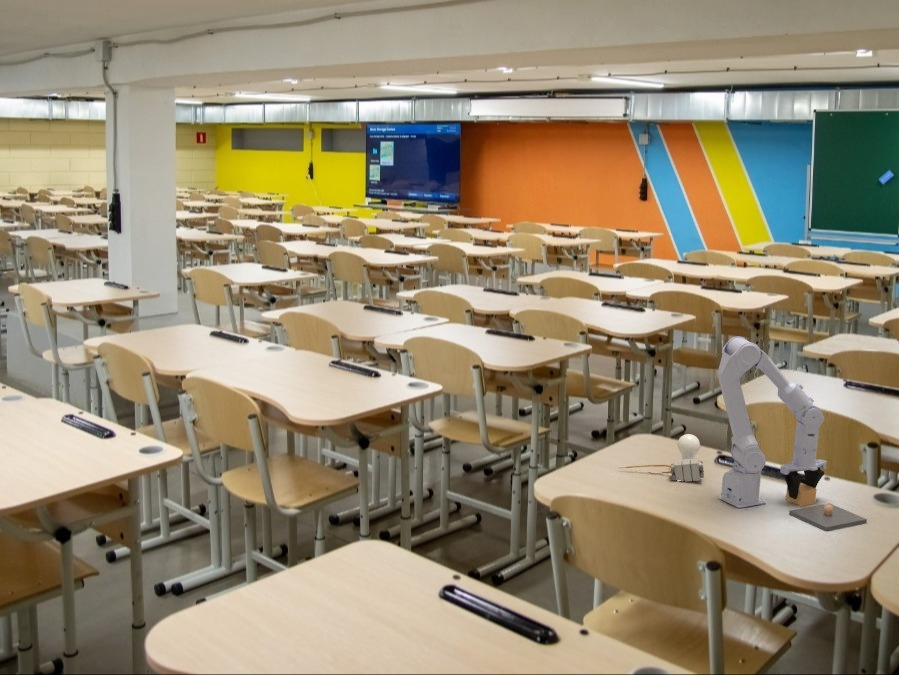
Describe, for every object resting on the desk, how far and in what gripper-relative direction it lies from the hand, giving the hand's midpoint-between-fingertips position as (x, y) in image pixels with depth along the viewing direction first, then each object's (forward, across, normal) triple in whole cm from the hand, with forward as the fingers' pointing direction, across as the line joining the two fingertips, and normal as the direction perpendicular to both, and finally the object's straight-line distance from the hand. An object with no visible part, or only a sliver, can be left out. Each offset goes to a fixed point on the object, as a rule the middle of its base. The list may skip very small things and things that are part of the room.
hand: (800, 496), depth 248 cm
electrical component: (+2, -23, +30) cm, 38 cm away
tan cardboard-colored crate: (+1, 0, 0) cm, 1 cm away
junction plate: (+1, -3, -12) cm, 12 cm away
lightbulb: (+2, -12, +32) cm, 34 cm away
